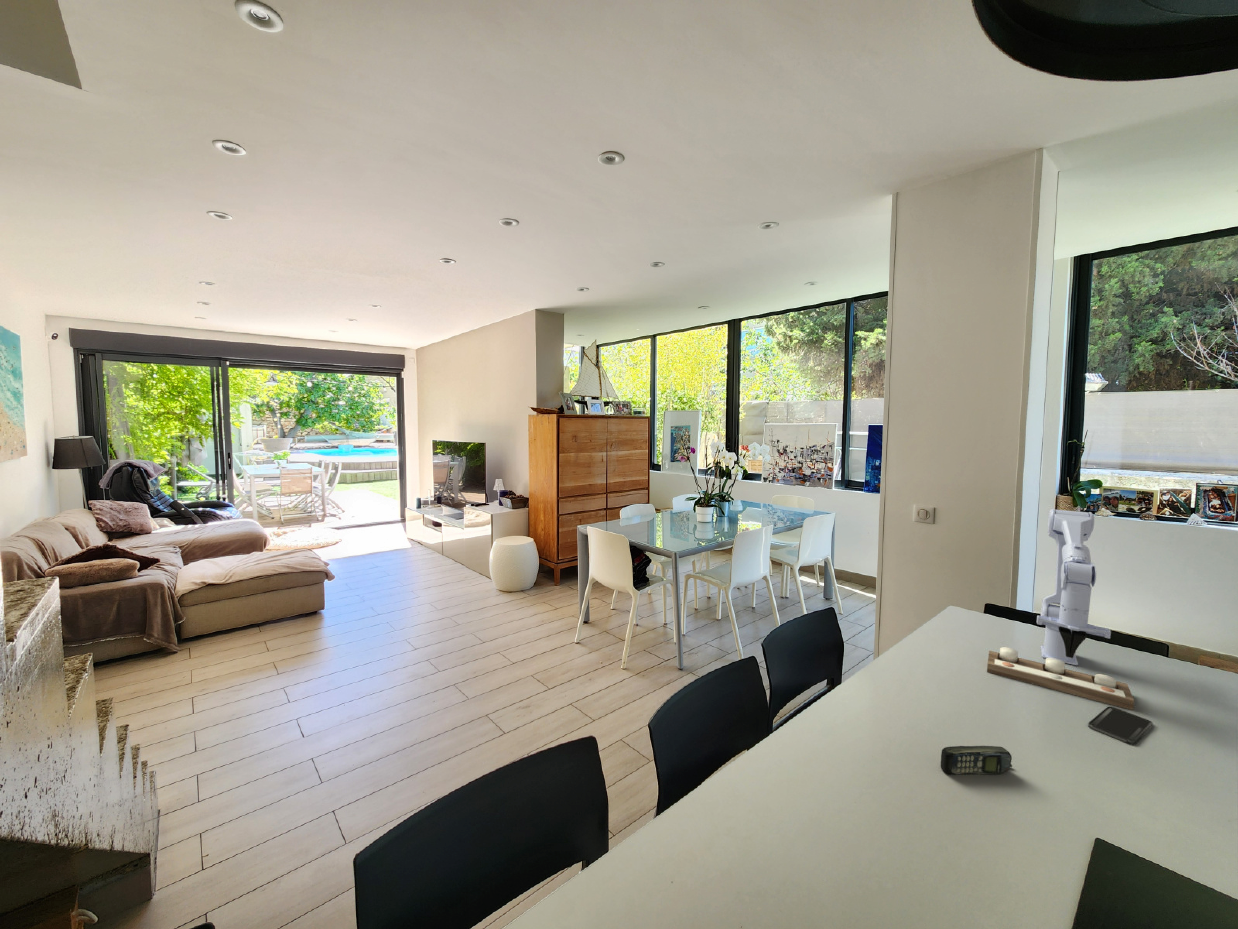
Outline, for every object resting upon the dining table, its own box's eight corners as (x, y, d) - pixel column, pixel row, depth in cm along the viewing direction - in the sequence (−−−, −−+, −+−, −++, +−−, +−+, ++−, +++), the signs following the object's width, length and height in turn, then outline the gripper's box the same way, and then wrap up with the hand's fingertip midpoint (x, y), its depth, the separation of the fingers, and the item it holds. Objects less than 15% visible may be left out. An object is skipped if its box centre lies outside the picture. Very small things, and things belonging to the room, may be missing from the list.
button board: (988, 658, 149) (989, 650, 149) (1126, 693, 131) (1127, 684, 131) (986, 672, 141) (987, 663, 141) (1133, 710, 123) (1134, 700, 123)
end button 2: (999, 654, 146) (1000, 645, 146) (1017, 658, 144) (1017, 650, 144) (999, 659, 143) (1000, 650, 143) (1017, 663, 141) (1018, 655, 141)
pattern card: (994, 659, 143) (994, 658, 143) (1123, 691, 127) (1123, 690, 127) (994, 664, 140) (994, 663, 140) (1125, 697, 124) (1125, 696, 124)
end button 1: (1093, 681, 134) (1094, 672, 134) (1113, 686, 132) (1114, 677, 132) (1094, 687, 131) (1095, 678, 131) (1116, 693, 129) (1117, 683, 128)
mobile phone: (948, 754, 99) (1021, 751, 100) (938, 744, 102) (1009, 741, 103) (947, 778, 100) (1019, 774, 100) (936, 767, 102) (1007, 764, 103)
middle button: (1044, 665, 140) (1045, 656, 140) (1063, 669, 138) (1064, 660, 138) (1045, 670, 137) (1046, 661, 137) (1064, 675, 135) (1065, 666, 134)
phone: (1086, 724, 116) (1109, 705, 124) (1086, 728, 116) (1108, 709, 124) (1134, 743, 110) (1154, 722, 117) (1133, 748, 110) (1154, 726, 117)
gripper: (1040, 605, 135) (1035, 653, 137) (1115, 618, 127) (1109, 670, 128) (1038, 597, 141) (1033, 644, 142) (1110, 610, 132) (1104, 660, 133)
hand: (1069, 656), depth 135 cm, fingers closed
